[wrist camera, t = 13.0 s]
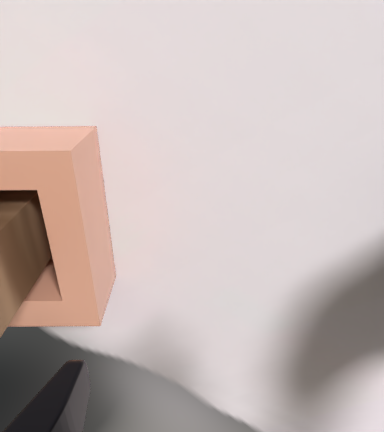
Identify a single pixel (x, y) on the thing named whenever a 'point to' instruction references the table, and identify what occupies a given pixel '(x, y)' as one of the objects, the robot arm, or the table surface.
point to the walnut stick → (20, 249)
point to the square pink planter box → (63, 222)
